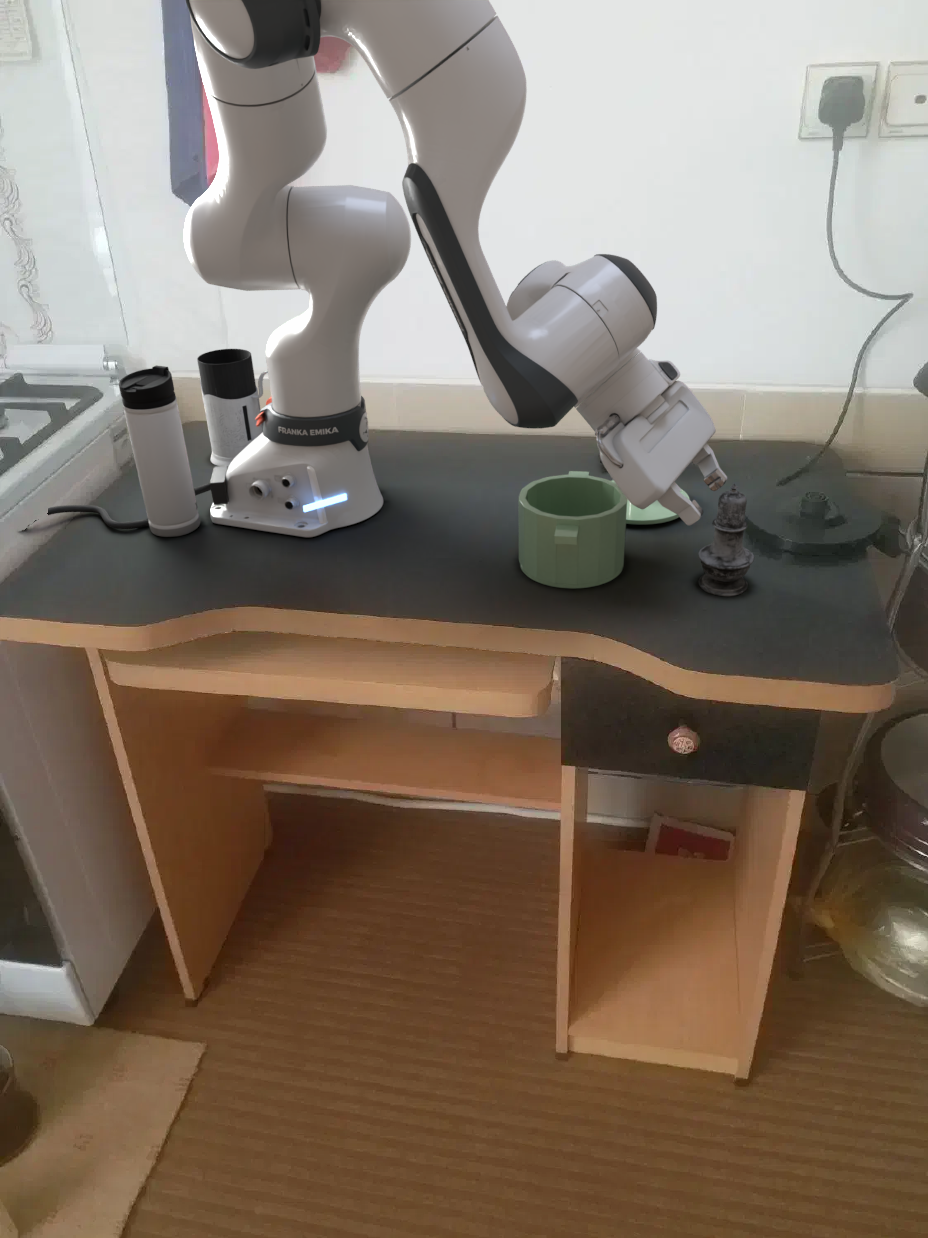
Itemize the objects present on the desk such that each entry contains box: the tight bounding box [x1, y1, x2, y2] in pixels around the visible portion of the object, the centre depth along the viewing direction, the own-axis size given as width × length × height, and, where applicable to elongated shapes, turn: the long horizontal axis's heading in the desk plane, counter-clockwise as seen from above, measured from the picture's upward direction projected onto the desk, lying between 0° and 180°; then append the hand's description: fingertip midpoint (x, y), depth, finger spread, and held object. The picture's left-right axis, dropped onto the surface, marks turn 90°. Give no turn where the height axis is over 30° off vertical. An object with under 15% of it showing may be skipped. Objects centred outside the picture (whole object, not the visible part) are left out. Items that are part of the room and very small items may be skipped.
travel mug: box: [118, 365, 201, 538], centre depth 121 cm, size 6×7×20 cm
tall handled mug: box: [196, 348, 268, 467], centre depth 142 cm, size 9×14×15 cm, turn 65°
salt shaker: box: [697, 483, 755, 597], centre depth 106 cm, size 6×6×12 cm
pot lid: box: [611, 479, 691, 526], centre depth 126 cm, size 13×13×5 cm
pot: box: [517, 470, 627, 589], centre depth 112 cm, size 12×17×8 cm
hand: (709, 502), depth 104 cm, fingers open, 8 cm apart
